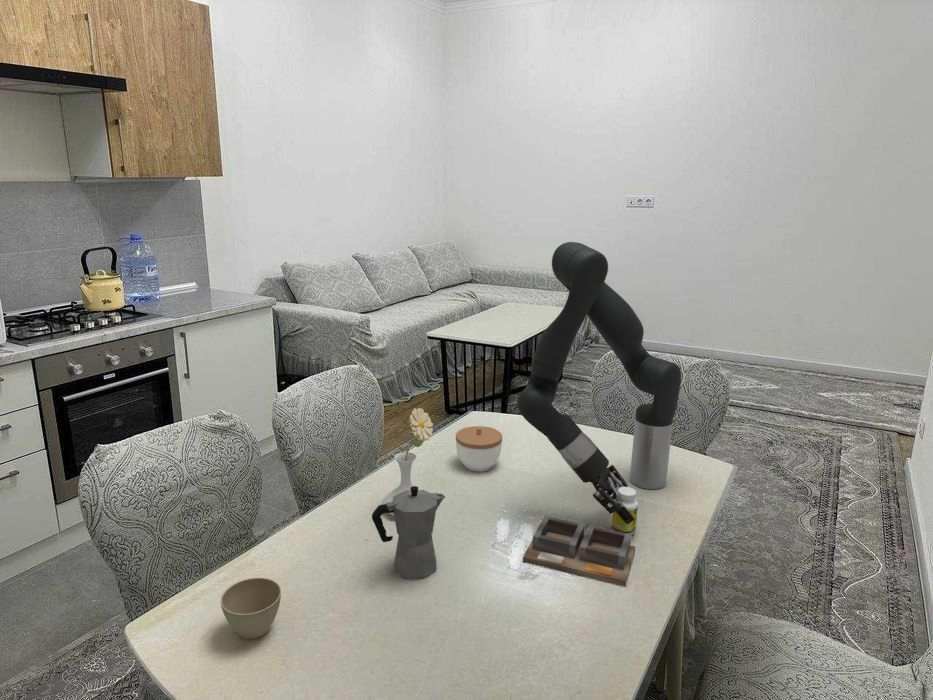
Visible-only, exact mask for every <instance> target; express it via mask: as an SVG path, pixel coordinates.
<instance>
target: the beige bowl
mask: <svg viewBox="0 0 933 700" xmlns="http://www.w3.org/2000/svg"><path fill="white" fill-rule="evenodd" d="M281 598H282V588H281V586H280V584H279V583H278V582H277V581H275V580H274V579H272V578H266V577H251V578H245V579H243V580H239V581H237V582H235V583H233V584H232V585H229V587H227V588H226V589H225V590H224V591H223V593H222V595H221V597H220V608H221V610H222V613H223V615H224V617H225V619H226V621H227V623H228V625H229V626H230V627H231V629H232V630H233V631H234V632H235V633H236V634H237V635H238V636H239V637H241V638H242V639H246V640H255V639H258V638H261V637H263V636H264V635H265V634H266V633H268V631H269V630H270V628H271V626H272V624H273V623H274V621H275V619H276V617H277V614H278V611H279V607H280V603H281Z"/></svg>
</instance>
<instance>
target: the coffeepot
mask: <svg viewBox="0 0 933 700" xmlns="http://www.w3.org/2000/svg"><path fill="white" fill-rule="evenodd" d="M410 489H411V490H406V491H404V492H402V493H399V494H397V495H395V496H393V501H392V502H388V503H386V504H383V505H382V504H378V505H377V507H376V508H375V510H373V511H372V514H371V519H372V522H373V524H374V526H375V529H376V530H377V533H378V535H379V537H380V539H381V542H382V543H388V542H392V540H393V537H394V536H393V535H390V536H388V535H387V530H386V528H385V526H384V522H383V519H382V517H381V516H382V515H383V514H388V513H394V516H393V517H394V522H395V523H394V524H395V528H396V534H397V535H398V537H397V543H396V549H395V550H396V551H395V554H394V562H393V563H394V565H393V572H394V573H395V574H397V575H398V576H399V577H401V578H404V579H407V580H421V579H424V578H428V577H429V576H431V575H433V574H434V572H435V571H437V557H436V556H437V555H436V552H435V547H434V540H433V535H432V534H433V531H434V524H435V519H436V513H437V510H438V508H439V507H440V505H441V503H442V502H443V500H444V499H446V496H445V495H444V494H442V493H439V492H429V491H427V490H425V489H419V486H417V485H413V486H412V487H411V488H410ZM418 489H419V490H418Z"/></svg>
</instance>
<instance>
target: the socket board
mask: <svg viewBox="0 0 933 700" xmlns="http://www.w3.org/2000/svg"><path fill="white" fill-rule="evenodd" d="M585 526H586V525H585V524H584V523H580V522H575V521H571V520H566V519H561V518H556V517H552V516H548V515H547V516H546V515H544V516H543V518H542V519H541V522H540V523H539V525H538V526H537V528H536V530H535V531H534V534H533V535H532V540H531V542H530V543H529V545H528V546H527V549H526V550H525V552H524V554H523V556H522V562H523V563H526V562H527V564H530V563H531V565H534V564H535V566H539V565H540V566H539V567H543V566H544V568H547V569H551V570H556V571H559V572H560V571H561V572H563V573H568V574H573V575H577V576H580V577H584V578H588V579H589V578H590V579H593V580H596V581H602V582H605V583H610V584H612V585H613V584H614V585H618V586H622V587H627V586H626V585H627V581H628V578H629V574H630V571H631V567H632V563H633V560H634V556H635V553H636V546H634V545H631V542H632V535H631V534H628V533H623V532H618V531H614V530H612V529H608V528H603V527H598V526H594V525H590V524H589V525H588V526H587V530H586V531H585Z"/></svg>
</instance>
